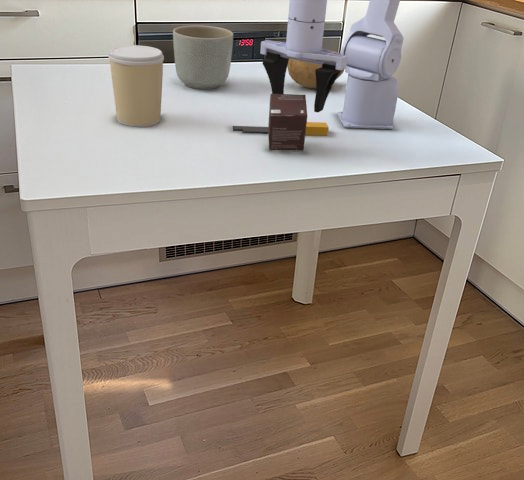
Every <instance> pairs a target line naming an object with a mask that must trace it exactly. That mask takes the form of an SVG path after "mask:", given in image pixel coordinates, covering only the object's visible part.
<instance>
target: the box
mask: <svg viewBox="0 0 524 480" xmlns="http://www.w3.org/2000/svg"><path fill="white" fill-rule="evenodd" d="M306 96H307V95H306V94H298V93H297V94H296V93H295V94H292V93H284V94H272V93H270V95H269V110H268V111H269V112H268V125H267V127H268V134H267V136H268V150H269V151H290V152H292V151H293V152H304V150H305V141H306V135H305V133H306V124H307V122H308V110H307V109H308V107H307V97H306Z"/></svg>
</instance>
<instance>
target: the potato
mask: <svg viewBox="0 0 524 480" xmlns="http://www.w3.org/2000/svg"><path fill="white" fill-rule="evenodd" d="M331 51H332V52H335V53H339V54H341V52H339V51H336V50H331ZM320 67H321V68H322V65H318V64H313V63H308V62H303V61H299V60H294V59H289V62H288V65H287V71H288V75H289V77H290V78H291V79H292V81H294V82H295V83H296V84H298V85H300V86H302V87H305V88H309V89H315V90H316V74H315V70H316V69H318V68H320ZM344 72H345V69H343V70H342V71H341V73H340V74H339V76H338V77H337V79H339V78H340V77H341V76H342V75H343V74H344Z"/></svg>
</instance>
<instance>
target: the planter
mask: <svg viewBox="0 0 524 480" xmlns="http://www.w3.org/2000/svg"><path fill="white" fill-rule="evenodd" d="M172 42H173V43H172V46H173V57H174V58H173V59H174V66H175V72H176V76H177V77H178V79H179V80H180V81H181V82H182V83H183V84H184V85H185V86H187V87H188V88H192V89H197V90H212V89H217V88H219V87H220V86H222V85H223V84H224V83H225V82H226V81H227V80H228V78H229V74H230V71H231V65H232V58H233V57H232V56H233V48H234V47H233V46H234V32H233V31H232V30H230V29H227V28H223V27H219V26H212V25H200V24H199V25H196V24H195V25H194V24H193V25H191V24H190V25H182V26H177V27H175V28H173V30H172Z"/></svg>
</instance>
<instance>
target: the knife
mask: <svg viewBox="0 0 524 480" xmlns="http://www.w3.org/2000/svg"><path fill="white" fill-rule="evenodd" d="M329 129H330V128H329V126H328V123H327V122H321V121H320V122H318V121H317V122H316V121H307V124H306V133H305V136H322V137H323V136H324V137H325V136H326V137H328V136H329V135H328V134H329ZM232 132H241V133H242V134H257V135H258V134H259V135H268V126H249V125H248V126H247V125H232Z"/></svg>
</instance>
